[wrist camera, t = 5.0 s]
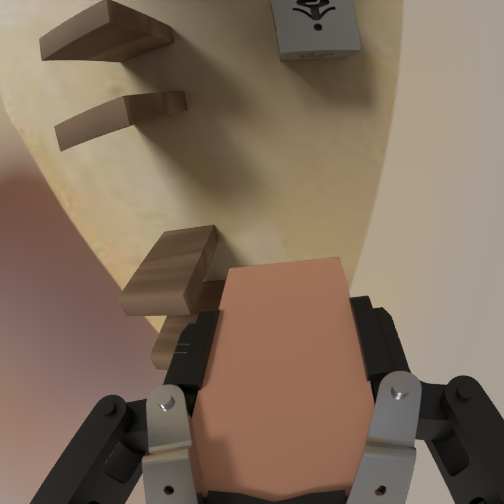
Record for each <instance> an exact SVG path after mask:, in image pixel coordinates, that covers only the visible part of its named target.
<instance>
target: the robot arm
mask: <svg viewBox="0 0 504 504" xmlns="http://www.w3.org/2000/svg"><path fill="white" fill-rule="evenodd" d="M349 302H350V306H351V310H352V315H353V319H354V323H355V327H356V331H357V336H358V340H359V345H360V349H361V354H362V359H363V364H364V368H365V373H366V379H367V381H370V384H371V389H372V395H373V400H374V410H373V415H372V419H371V423H370V426H369V430H368V434H367V438H366V441H365V445H364V448H363V452H362V455H361V458H360V461H359V464H358V468H357V471H356V474H355V477H354V481H353V484H352V487H351V490H350V493H349V495H348V496H345V490H338V491H328V492H317V493H309V494H305V495H301V496H298V497H294V498H290V499H285V500H281V501H268V500H264V499H260V498H256V497H253V496H249V495H245V494H242V493H233V492H221V491H211V490H208V495H207V497H203V496H202V491H201V480H202V479H203V475H202V470H201V466H200V461H199V456H198V451H197V446H196V440H195V435H194V429H193V424H192V415H193V411H194V407H195V403H196V399H197V394H198V390H201V389H202V384H203V380H204V376H205V372H206V367H207V363H208V359H209V355H210V351H211V347H212V343H213V338H214V334H215V330H216V326H217V322H218V318H219V314H220V310H219V309H213V310H201V311H200V312H199V314H198V317H197V321H196V323H189V324H188V325H187V326H186V328H185V329H184V330H183V331H182V332H181V334H180V337H179V340H178V343H177V345H176V348H175V351H174V352H175V353H174V354H173V357H172V360H171V363H170V366H169V369H168V371H167V375H166V377H165V380H164V384H163V385H162V386H160V387H157V388H156V389H154V390H153V391H152V392H151V393H150V395H149V396H148V398H147V399H143V400H138V401H133V402H127V403H126V402H125V401H124V399H123V398H121V397H120V396H117V395H108V396H105V397H103V398H102V399H101V400H100V401H99V402H98V403H97V404H96V405H95V407H94V408H93V410H92V411H91V412H90V414H89V415H88V417H87V418H86V420H85V421H84V423H83V424H82V425H81V427H80V429H79V430H78V431H77V433H76V434H75V436H74V437H73V438H72V440H71V441H70V443H69V444H68V446H67V447H66V449H65V450H64V452H63V453H62V455H61V456H60V458H59V459H58V461H57V462H56V464H55V465H54V467H53V468H52V470H51V471H50V473H49V474H48V476H47V478H46V479H45V480H44V482H43V484H42V485H41V487H40V488H39V490H38V491H37V493H36V494H35V496H34V498H33V499H32V501H31V502H30V504H125V502H126V501H127V499H128V497H129V496H130V494H131V492H132V490H133V489H134V487H135V485H136V484H137V482H138V480H139V478H140V476H141V475H142V473H143V481H144V489H145V498H146V504H405V501H406V498H407V494H408V490H409V486H410V482H411V478H412V474H413V470H414V465H415V460H416V448H415V447H414V442H415V439H419V440H424V441H425V443H426V444H427V447H428V448H429V450H430V452H431V454H432V456H433V458H434V460H435V462H436V464H437V466H438V468H439V470H440V472H441V475H442V477H443V479H444V481H445V483H446V485H447V487H448V489H449V491H450V493H451V496H452V498H453V500H454V502H455V504H504V419H503V418H502V416H501V415H500V413H499V412H498V410H497V409H496V407H495V406H494V404H493V403H492V401H491V400H490V398H489V397H488V395H487V394H486V393H485V391H484V390H483V388H482V387H481V385H480V384H479V383H478V382H477V381H476V380H475V379H474V378H472V377H469V376H464V375H463V376H457V377H455V378H453V379H452V380H451V381H450V382H449V383H448V384H447V385H440V384H429V383H425V382H422V381H420V380H419V379H418V378H417V377H416V376H415V375H413V374H412V373H411V371H410V369H409V367H408V363H407V360H406V357H405V354H404V351H403V348H402V345H401V342H400V339H399V337H398V334H397V331H396V329H395V325H394V322H393V320H392V317H391V315H390V314H389V313H388V312H387V311H386V310H385V309H384V308H383V307H381V308H373V307H372V304H371V301H370V299H369V296H361V297H352V298H349ZM118 442H119V443H118ZM116 445H117V446H116ZM113 450H114V451H113ZM111 453H112V454H111ZM108 458H109V459H108ZM106 461H107V462H106ZM375 490H379V491H380V492H381V493H382V496H378V495H376V494H375Z"/></svg>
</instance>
